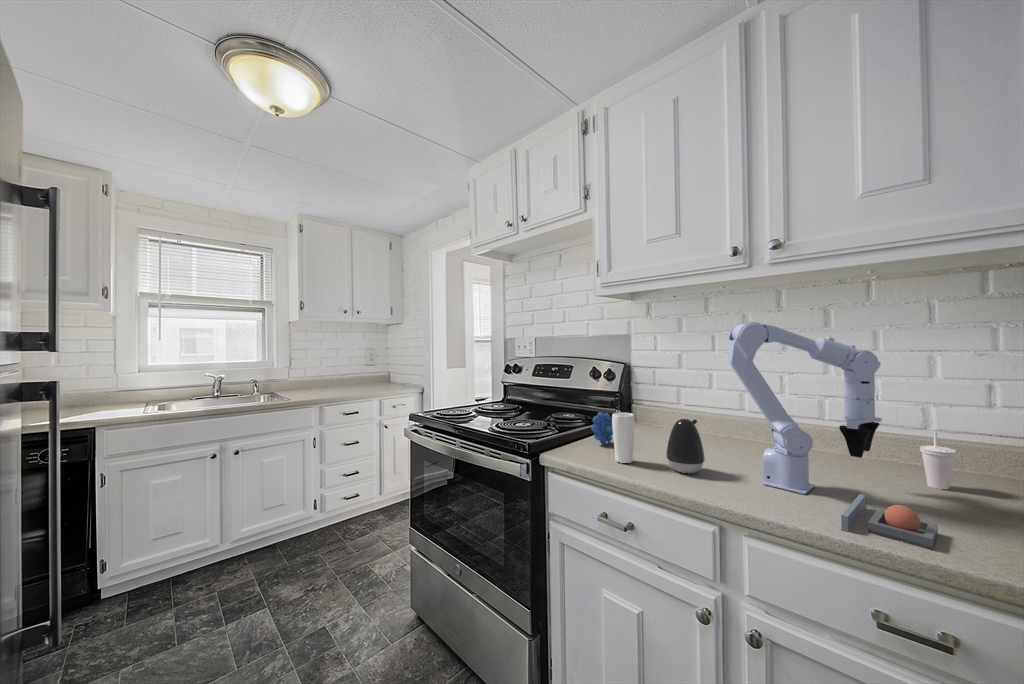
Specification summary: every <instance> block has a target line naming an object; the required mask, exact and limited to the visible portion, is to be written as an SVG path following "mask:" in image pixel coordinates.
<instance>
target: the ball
mask: <svg viewBox="0 0 1024 684" xmlns="http://www.w3.org/2000/svg"><path fill="white" fill-rule="evenodd" d="M884 516H885V520H886V522H887V523H888V524H889V526H893V527H897V528H900V529H904V530H908V531H912V532H915V531H916V530H918V529H919V527H920V520H921V519H920V517H919V515H918V514H917V513H916V511H915V510H913V509H911V508H910V507H908V506H906V505H903V504H894V505H893V504H892V505H891V506H888V507H887V508H886V509H885V514H884Z"/></svg>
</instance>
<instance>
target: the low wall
mask: <svg viewBox="0 0 1024 684" xmlns="http://www.w3.org/2000/svg"><path fill="white" fill-rule="evenodd" d="M866 502H867V501H866V494H861V493H859V494H858V496H857V497H856V498H855V499H854V500H853V501H852V502H851V503H850V504H849V506H848V507H847V508H846V509H845V510H844V511H843V513H842V514H841V515H840V516H841V520H840V522H841V526H840V527H841V531H844V532H847V533H848V532H849V531H850V530H851V529H852V527H853V526H854V524H855V523H856V522H857V521H858V519H859V518H860V517H861V515H862V514H863V513H864V512H865V510H866V509H867V508H866V506H867V505H866ZM863 511H864V512H863Z"/></svg>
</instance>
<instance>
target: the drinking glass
mask: <svg viewBox="0 0 1024 684" xmlns="http://www.w3.org/2000/svg"><path fill="white" fill-rule="evenodd" d="M611 419H612V430H613V435H612V440H613V446H614V460H615V462H616V461H617V462H616V463H618V462H620V463H619V464H622V463H629V464H632V463H633V460H634V459H633V458H634V457H633V454H634V438H635V414H633V413H630V412H622V411H620V412H619V411H618V412H613V413H612V415H611Z"/></svg>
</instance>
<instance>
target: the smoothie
mask: <svg viewBox="0 0 1024 684" xmlns="http://www.w3.org/2000/svg"><path fill="white" fill-rule="evenodd" d="M919 451H920V452H921V456H922V461H923V467H924V468H923V469H924V472H925V479H926V483H927V487H929V486H930V487H929V488H932V487H933V488H932V489H935V488H937V489H936V490H941V489H946V490H945V491H947V489H949V490H950V485H951V479H952V473H953V470H954V469H953V468H954V463H955V457H956V456H957V450H955V449H953V448H950V447H949V448H948V447H945V446H938V431H937V430H933V445H921V446H919Z"/></svg>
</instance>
